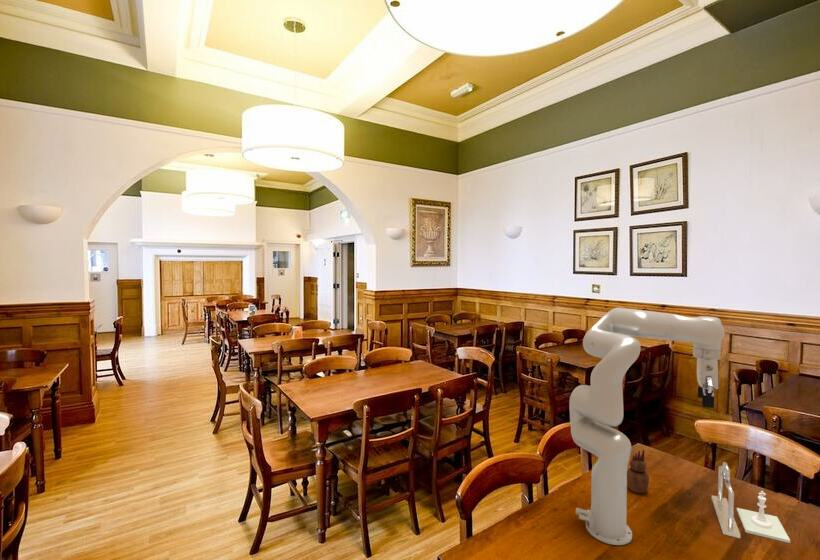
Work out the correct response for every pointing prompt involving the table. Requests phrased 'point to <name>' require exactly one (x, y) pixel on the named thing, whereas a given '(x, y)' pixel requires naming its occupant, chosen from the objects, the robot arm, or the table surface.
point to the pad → (773, 533)
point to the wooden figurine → (638, 474)
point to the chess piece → (761, 514)
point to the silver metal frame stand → (725, 504)
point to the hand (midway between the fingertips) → (705, 402)
